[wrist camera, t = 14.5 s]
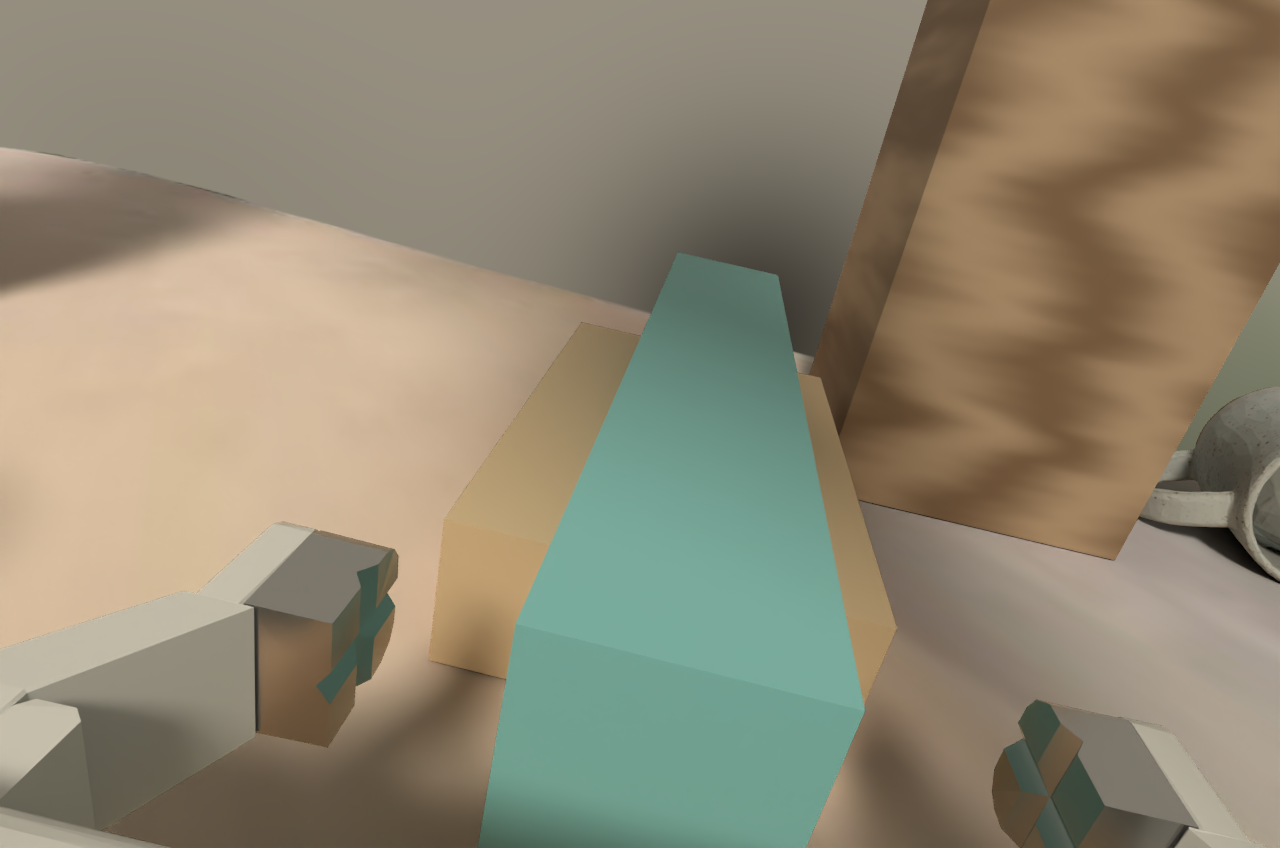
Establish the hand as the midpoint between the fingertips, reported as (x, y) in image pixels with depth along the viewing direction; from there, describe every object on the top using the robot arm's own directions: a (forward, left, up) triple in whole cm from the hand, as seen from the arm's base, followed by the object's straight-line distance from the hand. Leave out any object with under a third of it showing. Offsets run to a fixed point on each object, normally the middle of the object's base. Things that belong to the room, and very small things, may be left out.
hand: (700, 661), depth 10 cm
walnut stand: (+12, +25, -7) cm, 28 cm away
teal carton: (0, +10, -3) cm, 10 cm away
